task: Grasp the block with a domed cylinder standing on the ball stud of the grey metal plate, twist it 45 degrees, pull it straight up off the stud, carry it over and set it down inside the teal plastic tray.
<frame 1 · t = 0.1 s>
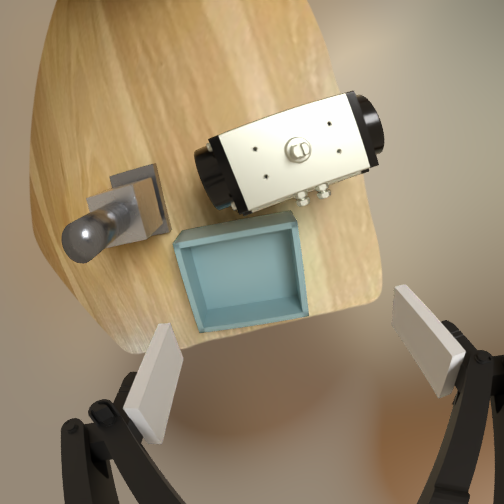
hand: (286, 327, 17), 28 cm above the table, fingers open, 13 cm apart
block with domed cylinder: (135, 205, 39), point 3 cm above the table, touching stud plate
bin: (244, 264, 45), on the table
stud plate: (141, 201, 42), on the table
ball valve: (280, 151, 40), on the table
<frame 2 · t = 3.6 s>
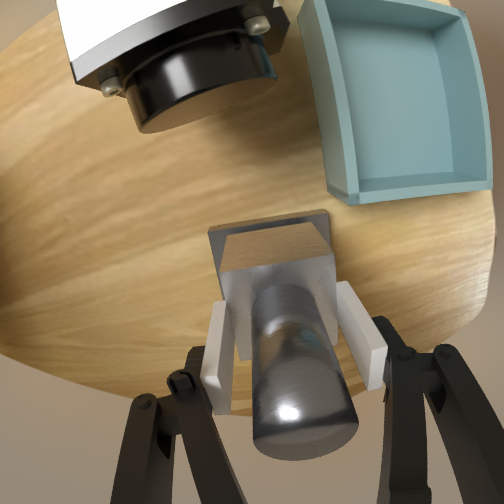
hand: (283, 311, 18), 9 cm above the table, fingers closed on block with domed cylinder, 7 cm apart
block with domed cylinder: (275, 267, 24), point 3 cm above the table, touching gripper, stud plate
bin: (388, 96, 22), on the table
stud plate: (272, 255, 27), on the table
ball valve: (198, 31, 20), on the table
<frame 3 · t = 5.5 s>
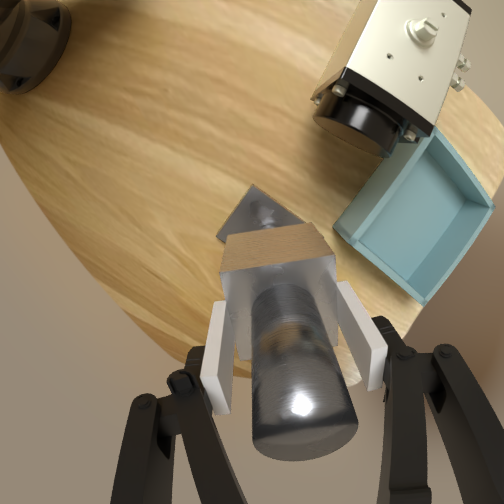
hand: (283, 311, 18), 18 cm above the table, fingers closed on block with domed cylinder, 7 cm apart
block with domed cylinder: (275, 267, 24), point 11 cm above the table, touching gripper
bin: (409, 209, 34), on the table
stud plate: (269, 233, 35), on the table
ball valve: (354, 78, 29), on the table
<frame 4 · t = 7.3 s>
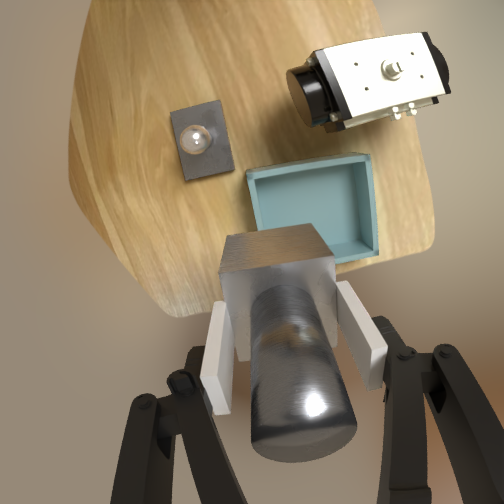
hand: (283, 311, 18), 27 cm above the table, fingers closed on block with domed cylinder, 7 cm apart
block with domed cylinder: (274, 267, 24), point 20 cm above the table, touching gripper
bin: (310, 206, 43), on the table
stud plate: (203, 140, 40), on the table
ball valve: (344, 96, 38), on the table
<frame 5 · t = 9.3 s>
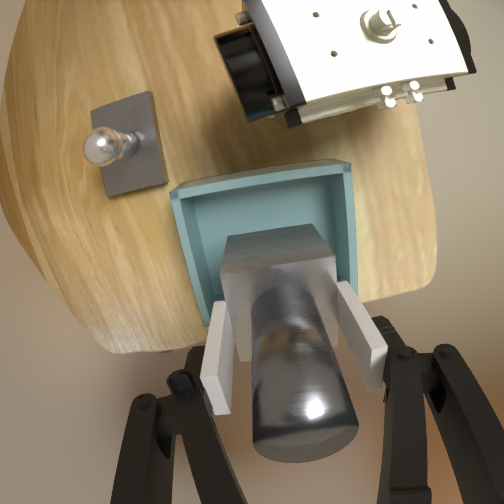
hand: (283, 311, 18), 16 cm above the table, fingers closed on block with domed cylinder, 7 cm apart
block with domed cylinder: (275, 268, 24), point 9 cm above the table, touching gripper
bin: (268, 232, 33), on the table
stud plate: (130, 144, 29), on the table
ball valve: (319, 82, 27), on the table
when the fingers open (11 cm above the table, at t = 10.9 s): block with domed cylinder drops 3 cm, resting on bin.
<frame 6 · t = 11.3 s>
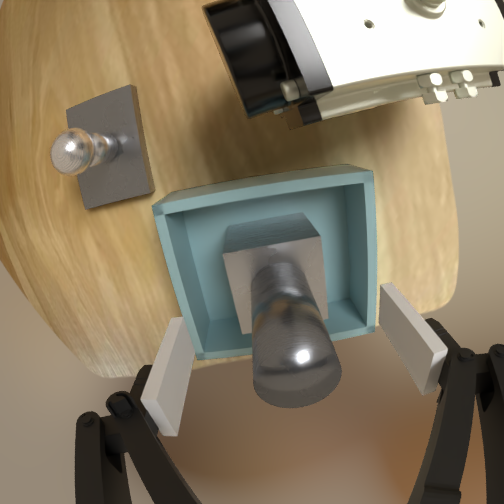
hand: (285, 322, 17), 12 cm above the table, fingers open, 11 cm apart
block with domed cylinder: (271, 253, 27), point 1 cm above the table, touching bin
bin: (271, 250, 28), on the table
stud plate: (111, 147, 25), on the table
ball valve: (332, 74, 23), on the table
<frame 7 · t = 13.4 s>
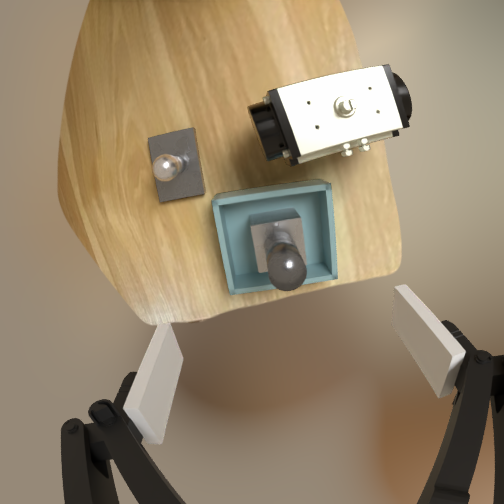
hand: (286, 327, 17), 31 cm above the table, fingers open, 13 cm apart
block with domed cylinder: (275, 231, 46), point 1 cm above the table, touching bin
bin: (275, 230, 47), on the table
stud plate: (177, 164, 43), on the table
ball valve: (313, 124, 42), on the table
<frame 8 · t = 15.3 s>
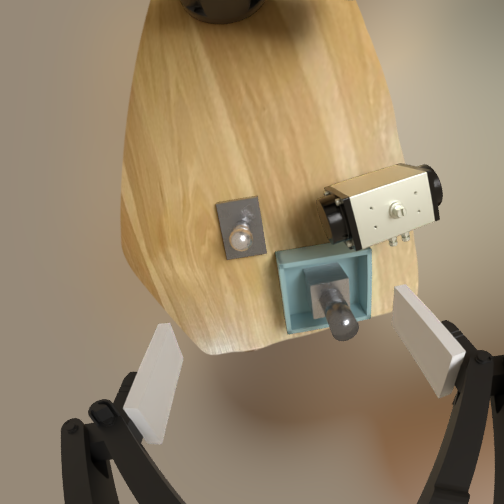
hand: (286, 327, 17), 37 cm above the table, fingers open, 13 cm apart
block with domed cylinder: (322, 281, 55), point 1 cm above the table, touching bin
bin: (321, 279, 56), on the table
stud plate: (242, 226, 52), on the table
ball valve: (356, 192, 51), on the table
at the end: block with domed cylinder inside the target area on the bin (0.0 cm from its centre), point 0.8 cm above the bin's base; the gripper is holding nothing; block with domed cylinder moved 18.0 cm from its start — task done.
